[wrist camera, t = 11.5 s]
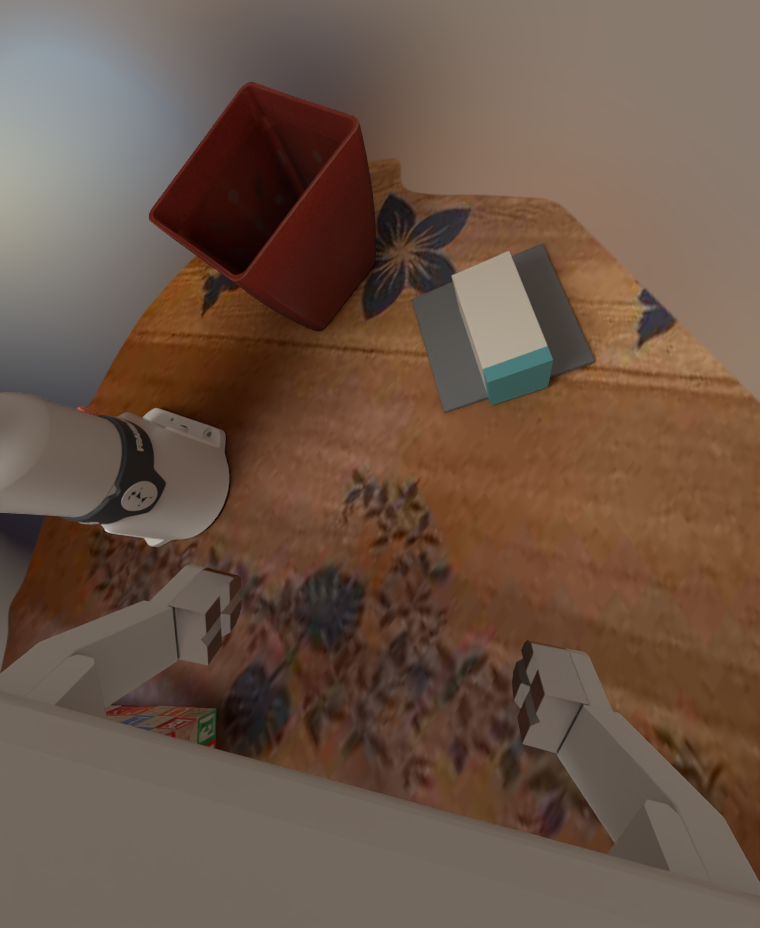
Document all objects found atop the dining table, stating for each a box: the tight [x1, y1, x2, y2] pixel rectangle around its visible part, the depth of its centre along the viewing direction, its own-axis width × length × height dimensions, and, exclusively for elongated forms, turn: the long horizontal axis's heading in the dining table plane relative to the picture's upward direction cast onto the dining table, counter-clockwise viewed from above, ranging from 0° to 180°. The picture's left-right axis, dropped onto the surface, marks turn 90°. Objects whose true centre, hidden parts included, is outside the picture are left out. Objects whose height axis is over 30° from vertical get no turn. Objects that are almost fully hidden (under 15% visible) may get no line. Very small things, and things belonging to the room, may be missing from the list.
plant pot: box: [149, 82, 376, 331], centre depth 46 cm, size 19×19×17 cm
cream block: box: [452, 251, 553, 406], centre depth 40 cm, size 6×6×13 cm
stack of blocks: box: [105, 705, 217, 749], centre depth 41 cm, size 21×6×12 cm, turn 96°
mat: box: [412, 244, 595, 413], centre depth 43 cm, size 16×16×1 cm
